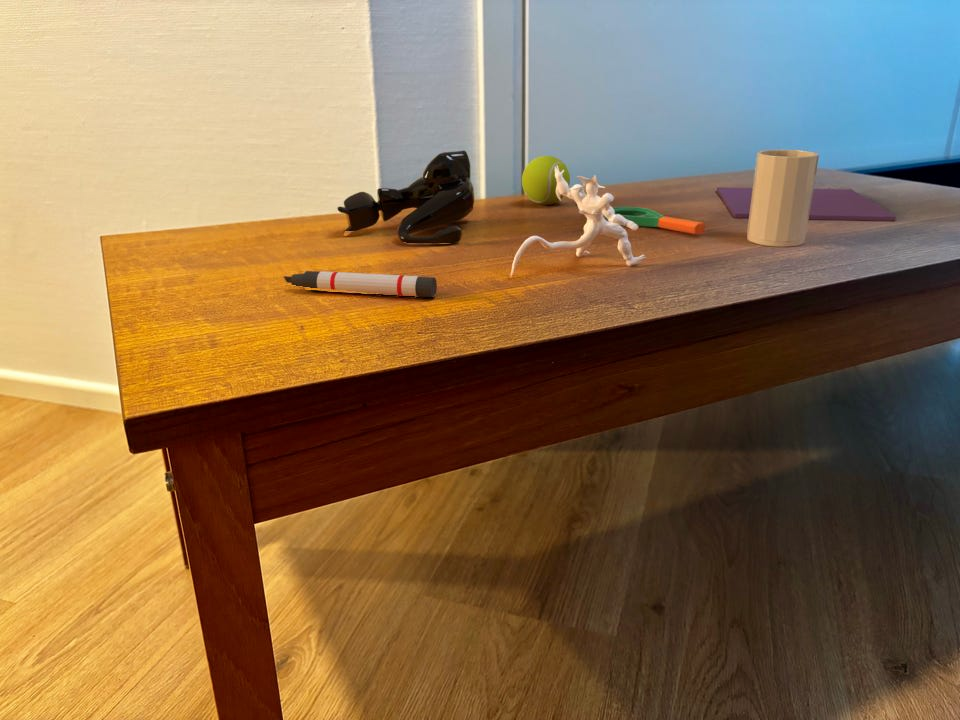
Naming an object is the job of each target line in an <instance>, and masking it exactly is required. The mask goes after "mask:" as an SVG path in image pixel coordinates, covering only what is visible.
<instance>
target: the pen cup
mask: <svg viewBox="0 0 960 720" xmlns="http://www.w3.org/2000/svg"><path fill="white" fill-rule="evenodd" d="M819 156H820V154H819V153H817V152H814V151H809V150H801V149H765V150H759V151H758V152H757V153H756V161H755V166H754V167H755V169H754V175H753V182H752V183H753V184H752V188H753V190H752V198H751V206H750V214H749V218H748V223H747V230H746V234H747V235H746V240H747V241H748V242H750V243H753V244H757V245H761V246H766V247H775V248H777V247H778V248H779V247H781V248H789V247H797V246H802V245H804V244H805V241H806V238H807V233H808V226H809V220H810V219H809V214H810V208H811V202H812V195H813V189H815V184H816V183H815V181H816V177H817V170H818V164H819V158H820V157H819Z"/></svg>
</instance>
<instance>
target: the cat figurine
mask: <svg viewBox="0 0 960 720" xmlns="http://www.w3.org/2000/svg"><path fill="white" fill-rule="evenodd" d="M471 168H472V167H471V161H470V158H469V155H468V153H467V150H457V151H444V152H440V153H438V154H437V155H436V156H434V157H433V158H432V159H431V160H430V161H429V162H428V164H427V165H426V167H425V168H424V170H423V172H422V176H421V177H419V178H416V179H415V180H414V181H412V182H411V183H410V184H409V185H408V186H406V187H403V188H400V189H398V188H397V189H396V188H389V187H379V188H377V189H376V197H377V201H376V199H374V197H373V195H371V194H370V193H368V192H366V191H359V192H356V193H354V194H351V195H350V196H347V198H345V200H344V201H343V206H338V207H337V208H336V209H337V211H338V212H339V213H342V214H345V217H346V222H347V226H348V227H346V229H344V231H354V232H357V231H361V230H364V229H368V228H370V227H373V226H375V225H376V224H377V223H378V221H379V219H380V216H381V219H382V221H383V222H387V221H389V220H391V219H393V218H394V217H396V216H397V215H399V214H400V213H401V212H403V211H404V210H408V209H414V210H413V211H412V212H411V211H410V213H408V214H407V215H406V216H405V217H403V218H402V220H401V221H400V222H399V225H398V227H397V236H398V239H399V241H401V243H403V242H406V243H432V244H437V243H454V244H456V243H455V242H458V243H459V242H460V241H461V239H462V236H463V231H462V228H461V227H460V226H458V225H456V224H454V223H456V222H459V221H461V220H463V219H464V218H466V217H467V216H468V215H469V214H471V213H472V212H473V210H474V205H475V190H474V185H473V182H472V180H471V173H472V172H471ZM450 224H451V225H450ZM447 225H448V226H447ZM442 226H447V227H445V228H443V229H439V230H437V231H436V232H435V233H434V234H433V235H426V236H425V235H424V236H421V235H420V236H417V235H416V236H414V235H412V234H415V233H417V232H422V231H426V230H430V229H434V228H438V227H442ZM406 243H405V244H406Z"/></svg>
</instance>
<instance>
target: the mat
mask: <svg viewBox="0 0 960 720" xmlns="http://www.w3.org/2000/svg"><path fill="white" fill-rule="evenodd" d="M752 190H753V187H719V186H718V187H716V192H717V195H718V196H719V198H721V200H722V201H723V203H724V204H725V206H726V208H727V209H728V210H729V212H730V213H731V215H732V216H733V218H735V219H749V214H750V206H751V198H752ZM896 218H897V217H896V215H895V214H893V213H891V212H889V211H888V210H886V209H884V208H882V207H881V206H880V205H878V204H876V203H874V202H873V201H872V200H871V199H870V200H869V199H868V198H867V197H865V196H863V195H861V194H860V193H859V192H857V191H855V190H853V189H852V188H814V189H813V195H812V202H811V208H810V214H809V220H819V221H824V220H825V221H866V222H867V221H871V222H872V221H873V222H874V221H875V222H876V221H877V222H895V221H896Z"/></svg>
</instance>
